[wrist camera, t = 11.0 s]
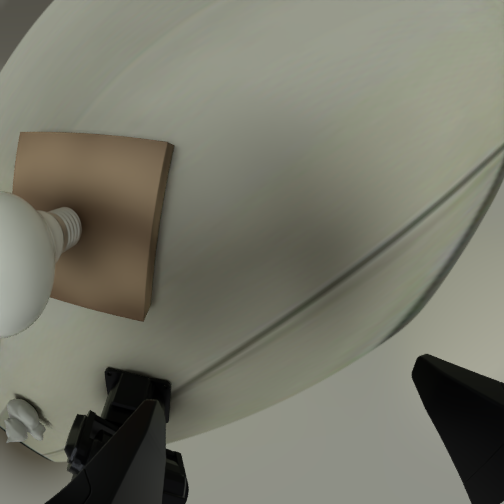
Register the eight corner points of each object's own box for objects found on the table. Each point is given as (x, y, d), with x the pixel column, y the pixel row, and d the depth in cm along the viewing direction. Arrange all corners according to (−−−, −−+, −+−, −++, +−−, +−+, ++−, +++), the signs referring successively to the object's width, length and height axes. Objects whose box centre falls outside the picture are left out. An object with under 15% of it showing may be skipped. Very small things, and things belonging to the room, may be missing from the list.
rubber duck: (19, 387, 22) (-6, 426, 14) (56, 419, 24) (37, 462, 16) (10, 397, 22) (-11, 433, 15) (44, 427, 24) (28, 465, 17)
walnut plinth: (150, 305, 20) (143, 321, 18) (30, 274, 18) (15, 285, 16) (174, 145, 17) (167, 141, 15) (38, 133, 15) (20, 131, 12)
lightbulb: (24, 221, 14) (-86, 275, 4) (72, 157, 14) (-62, 166, 3) (74, 287, 16) (-14, 386, 6) (129, 230, 16) (24, 320, 5)
